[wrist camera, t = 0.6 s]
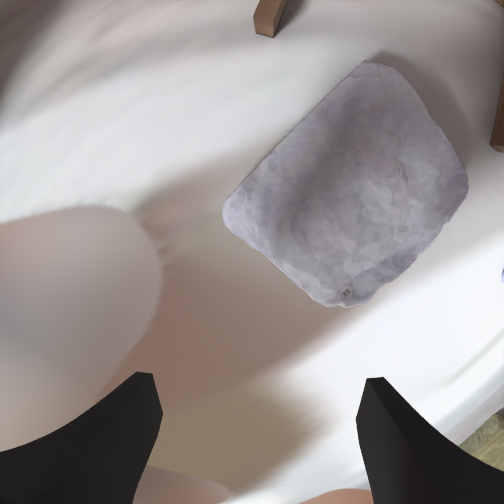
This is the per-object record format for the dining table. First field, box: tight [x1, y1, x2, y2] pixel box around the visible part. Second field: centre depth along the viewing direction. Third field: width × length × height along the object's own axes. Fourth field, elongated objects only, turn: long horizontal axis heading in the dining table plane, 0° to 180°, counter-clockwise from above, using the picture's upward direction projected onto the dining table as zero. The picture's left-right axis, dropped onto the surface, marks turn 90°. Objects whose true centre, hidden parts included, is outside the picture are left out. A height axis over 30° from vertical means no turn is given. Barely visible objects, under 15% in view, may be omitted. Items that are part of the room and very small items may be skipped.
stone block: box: [222, 60, 468, 308], centre depth 15 cm, size 12×5×10 cm
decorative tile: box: [458, 413, 504, 471], centre depth 24 cm, size 19×20×4 cm
